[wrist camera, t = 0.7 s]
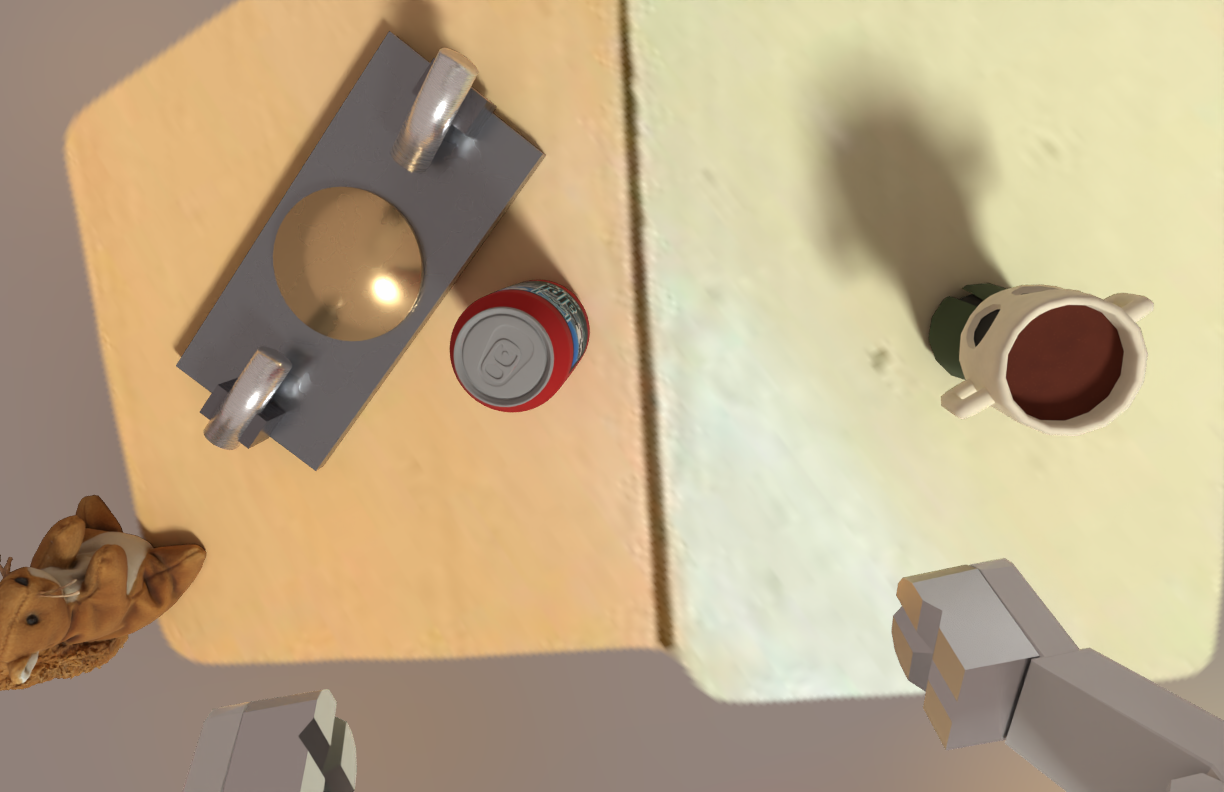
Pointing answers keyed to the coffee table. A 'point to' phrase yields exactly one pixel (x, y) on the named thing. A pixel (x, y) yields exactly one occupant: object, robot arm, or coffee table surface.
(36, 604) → the squirrel figurine
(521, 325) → the beverage can
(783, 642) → the coffee table surface
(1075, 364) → the character mug
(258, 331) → the shaft bed
